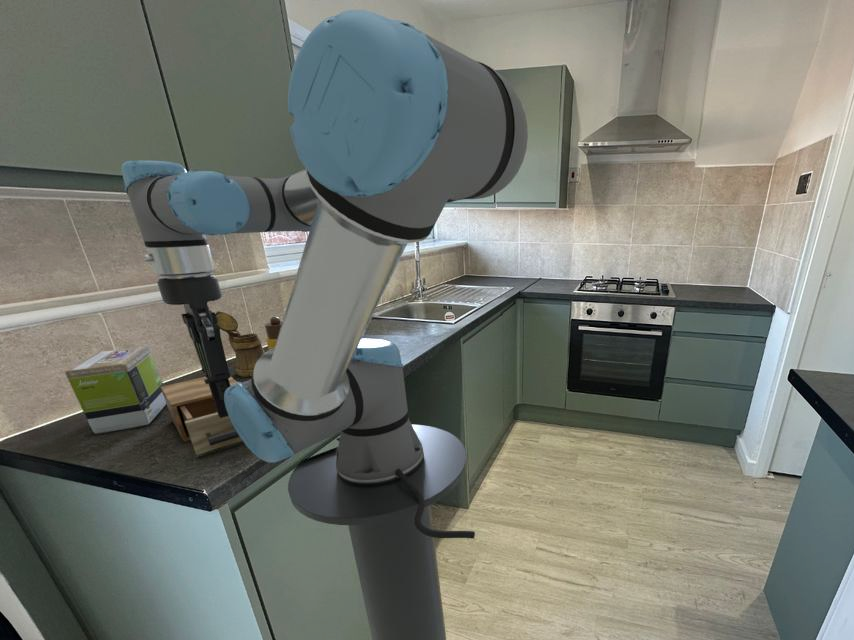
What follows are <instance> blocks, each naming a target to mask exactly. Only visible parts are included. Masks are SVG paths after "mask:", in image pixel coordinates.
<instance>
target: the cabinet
mask: <svg viewBox="0 0 854 640" xmlns="http://www.w3.org/2000/svg"><path fill="white" fill-rule="evenodd" d="M205 379H207V377H206V376H203V377H198V378H194V379H189V380H184V381H180V382H175V383H170V384H167V385H164V386H161V390H162V393H163V396H164V398H165V401H166V407H167V409H168V412H169V415H170V417H171V420H172V423H173V424H174V426H175V427H176V428H175V429H176V430H177V431H178V434H179V435H180V437H181V439H182V441H183V442H184V443H186V442H191V439H190V436H189V433H188V431H187V429H186V427H185V424H184V421H183V418H182V415H181V412H180V409H179V407H178V406H180V405H184V404H188V403H192V402H196V401H200V400H204V399H208V398H212V393H211V390H210V387H209V384H205V381H204V380H205ZM228 379H229V383H230V386H233V385H235V384H236V383H237V382H238V381H237V380H236V379H234V378H233V377H232V376H231V375H230V378H228Z"/></svg>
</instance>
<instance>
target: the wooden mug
mask: <svg viewBox="0 0 854 640" xmlns="http://www.w3.org/2000/svg"><path fill="white" fill-rule="evenodd" d="M215 314H216V317H217V321H218V322H217V324H218V325H219V326H220V331H223V332H224V333H227V335H228V341H229V344H230V347H231V348H232V351H233V352H234V353H235V362H236V368H235V371H236V375H237V376H239V377H241V378H243V377H244V378H249V377H252V374H253V370H254V367H255V364H256V362H257V361H258V359H259V358H260V357H261V356H262V355H263V354H264V353H265V352H266V351H265V349H264V348H263V344H262V339H261V338H260V337H259V336H258V333H247V334H242V335H241V333H240V331H238V328H239V323H238V321H237V320H236V319H235V318H234V316H233V315H231V314H229V313H227V312H224V311H219V310H217V311H216V312H215Z"/></svg>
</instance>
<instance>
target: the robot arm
mask: <svg viewBox="0 0 854 640" xmlns="http://www.w3.org/2000/svg"><path fill="white" fill-rule="evenodd" d="M295 57H296V58H295V60H294V63H293V66H292V70H291V74H290V79H289V83H288V84H289V85H288V92H287V112H288V114H289V115H290V116H291V117H293V122H292V125H290V127H289V131H290V135H291V139H292V142H293V145H294V149H295V151H296V153H297V155H298V158H299V160H300V162H301V163H302V165H303V166H304V168H305V169H302V170H299V171H297V172H295V173H292V174H290V175H287V176H285V177H281V178H267V177H265V178H264V177H255V176H241V175H240V176H239V175H226V174H223V173H220V172H218V171H212V170H197V169H193V170H187V169H186V168H185V167H184V166H183V165H182V164H180V163H177V162H172V161H165V160H153V159H152V160H148V159H140V160H127V161H125V162H123V163H122V165H121V167H120V169H121V170H120V171H121V175H122V179H123V182H124V191H125V193H126V195H127V196H128V199H129V203H130V204H131V208H132V210H133V211H132V212H133V213H134V216H135V219H136V222H137V226H138V228H139V231H140V235H141V237H142V240H143V242H144V246H145V247H146V251H147V253H148V254H144V255H143V259H144V261H145V262H151V267H152V271H153V273H154V274H155V275H156V276H159V277H161V278H158V280H157V281H156V284H157V286H158V290H159V293H160V295H161V299H162V302H163V303H164V304H167V305H171V306H182V305H183V308H184V312H185V313H181V319H182V321H183V324H185V326H186V328H187V331H188V335H189V338H190V339H191V341H192V343H193V347H194V349H195V352H196V355H197V358H198V362H199V363H200V366H201V371H202V373H204V377H207V379H205V380H204V381H205V384H209V387H210V390H211V393H212V397H213V400H214V403H215V406H216V410H217V413H218V416H219V417H220V418H222V417H226V416H229V418H230V420H231V422H232V424H233V426H234V428H235V429H236V431H237V433H238V434H239V436H240V438H241V439H242V442H243V443H244V445H245V446H246V447H247V448H248V450H250V452H251V453H252V454H253V455H254V456H256V457H257V458H258V459H260V460H262V461H264V462H265V463H271V464H272V463H277V462H280V461H284V460H285V459H288V458H291V457H295V456H296V454H297V453H300V452H302V451H305V450H306V449H308V448H310V447H313V446H314V445H316V444H319V443H321V442H322V441H324V440H326V439H329V438H331V437H332V436H334V435H337V434H339V433H340V434H339V438H340V440H339V441H338V446H336V447H337V448H338V452H337V454H336V455H337V458H336V468H337V473H338V476H339V478H340V479H341V480H342V481H344V482H345V483H347V484H350V485H354V486H360V487H374V486H381V485H386V484H390V483H393V482H396V481H399V480H402V482H403V483H404V484H405V485H406V487H407V488H408V489H409V490H410V491H411V492H412V493H413V494H414V495H415V497H416V498H417V500H418V503H419V506H418V510H417V512H416V515H415V520H414V523H415V527H416V528H417V529H418V530H419V531H420V532H421V533H423V534H424V535H427V536H430V537H434V539H470V540H471V539H475V537H476V531H474V530H436V529H433V530H432V529H429V528H426V527H425V526H423V525H422V523H421V517H422V514H423V511H424V507H425V502H424V498H423V496H422V494H421V493H420V492H419V491H418V490H417V488H416V487H415V486H414V485H413V484H412V483H411V482H410V481H409V480H408V478H407V476H409V475H411V474H412V473H414V472H415V471H416V470H417V469H418V468H419V467H420V466H421V464H422V463H423V460H424V453H423V447H422V444H421V442H420V440H419V438H418V436H417V434H416V432H415V430H414V428H413V426H412V422H411V421H410V416H409V408H408V400H407V392H406V383H405V376H404V364H403V363H402V357H401V352H400V349H399V347H398V346H397V345H396V344H395V343H394V342H392V341H389V340H385V339H380V338H379V339H378V338H363V337H364V335H365V333H366V331H367V329H368V327H369V324H370V322H371V320H372V318H373V316H374V314H375V311H376V309H377V307H378V306H379V304H380V302H381V299H382V297H383V295H384V293H385V291H386V289H387V287H388V285H389V283H390V281H391V278H392V276H393V274H394V272H395V270H396V268H397V266H398V263H399V262H400V260H401V258H402V255H403V254H404V251H405V250H406V247H407V245H408V244H413V243H420V242H422V241H424V240H426V239H427V238H429V236H430V235H431V233H432V231H433V229H434V228H435V225H436V223H437V221H438V219H439V218H440V216H441V214H442V212H443V210H444V208H445V206H446V204H449V203H453V202H457V201H462V200H479V199H480V200H481V199H485V198H490V197H492V196H494V195H496V194H498V193H500V192H501V191H503V190H504V189H505V188H506V187H507V186H509V184H511V182H512V181H513V180H514V179H515V178H516V176H517V175H518V173H519V171H520V169H521V167H522V165H523V163H524V161H525V160H524V159H525V155H526V153H527V149H528V138H529V135H528V134H529V133H528V132H529V131H528V121H527V117H526V113H525V109H524V107H523V104H522V101H521V99H520V96H519V95H518V94H517V92H516V90H515V89H514V87H513V85H512V84H510V82H509V81H508V80H507V78H505V76H503V75H502V74H501V73H499V71H497V70H495V69H494V68H492V67H491V66H489V65H487V64H485V63H483V62H481V61H478V60H476V59H473V58H471V57H469V56H468V55H465V54H464V53H462V52H460V51H458V50H457V49H454V48H453V47H451V46H449V45H447V44H445V43H443V42H442V41H440V40H437V39H436V38H433V36H430V35H428V34H426V33H425V32H423V31H421V30H419V29H418V28H416V27H415V26H414V24H411V23H409V22H404V21H402V20H400V19H392V18H388V17H386V16H383V15H381V14H378V13H376V12H374V11H370V10H366V9H356V8H355V9H347V10H342V11H340V13H339V14H336V15H330V16H329V17H327V18H325V19H323V20H322V21H320V23H318V24H317V25H316V26H315V27H314V28H313V29H312V30H311V31H310V33H309V34H308V35H307V37H306V38H305V40H304V41H303V43H302V45H301V47H300V49H299V51H298V53H297V55H296V56H295ZM273 232H274V233H276V232H277V233H278V232H279V233H280V232H302V233H308V234H307V238H306V242H305V246H304V248H303V251H302V254H301V258H300V261H299V265H298V268H297V272H296V274H295V279H294V282H293V285H292V288H291V292H290V295H289V299H288V302H287V305H286V309H285V311H284V312H285V313H284V315H283V319H282V321H281V322H282V325H281V328H280V332H279V335H278V338H277V342H276V345H275V348H272V349H270V350H269V349H267V351H264V352H265V353H264V354H263V355H262V356H261V357H260V358H259V359H258V361H257V362H256V364H255V367H254V370H253V374H252V376H251V378H250V379H248V380H246V381H242V382H241V381H236V382H237V383H236V384H235V385H233V386H230V383H229V379H228V378H230V376H231V373H230V371H229V367H228V362H227V358H226V353H225V350H224V346H223V341H222V336H221V335H222V334H221V329H220V326H219V325H218V324H217V322H218V321H217V317H216V312H214V311H212V310H211V309H210V308H209V304H208V303H209V302H215V301H218V300H221V298H222V296H223V295H222V294H223V293H222V290H221V287H220V284H219V279H218V276H216V275H214V274H213V272H215V270H216V267H215V264H214V261H213V256H212V253H211V249H210V245H209V244H208V239H207V237H206V235H207V236H217V235H220V236H226V235H229V234H252V233H253V234H255V233H273Z"/></svg>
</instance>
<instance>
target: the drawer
mask: <svg viewBox="0 0 854 640" xmlns="http://www.w3.org/2000/svg"><path fill="white" fill-rule="evenodd" d="M178 407H179V409H180V412H181V415H182V418H183V421H184V424H185V427H186V429H187V431H188V433H189V436H190V439H191V440H190V442H191V444H192V447H193V451H194V454H195V455H196V456H198V455H202V454H205V453H208V452H211V451H215V450H218V449H220V448H223V447H227V446H231V445H233V444H237V443H238V442H243V440H242V439H241V438H240V436H239V434H238V433H237V431H236V429H235V428H234V426H233V424H232V422H231V420H230V418H229V416H226V417H222V418H220V417H219V416H218V413H217V410H216V406H215V403H214V400H213V397H212V398H208V399H204V400H200V401H196V402H192V403H188V404H184V405H180V406H178Z"/></svg>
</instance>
